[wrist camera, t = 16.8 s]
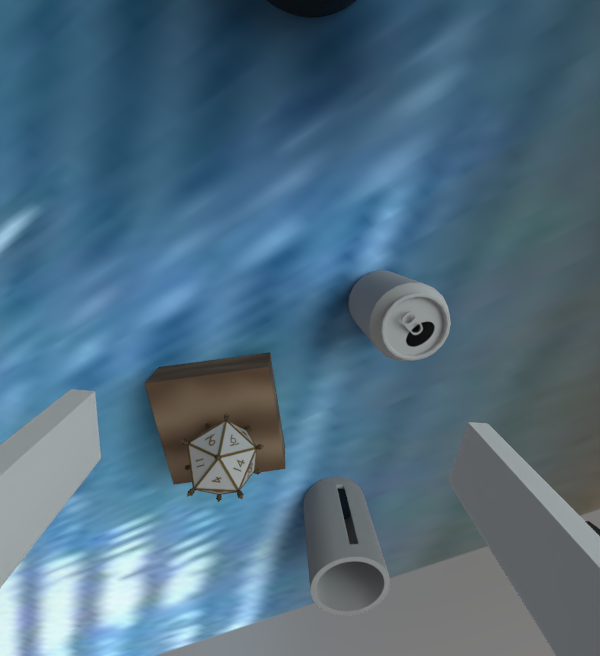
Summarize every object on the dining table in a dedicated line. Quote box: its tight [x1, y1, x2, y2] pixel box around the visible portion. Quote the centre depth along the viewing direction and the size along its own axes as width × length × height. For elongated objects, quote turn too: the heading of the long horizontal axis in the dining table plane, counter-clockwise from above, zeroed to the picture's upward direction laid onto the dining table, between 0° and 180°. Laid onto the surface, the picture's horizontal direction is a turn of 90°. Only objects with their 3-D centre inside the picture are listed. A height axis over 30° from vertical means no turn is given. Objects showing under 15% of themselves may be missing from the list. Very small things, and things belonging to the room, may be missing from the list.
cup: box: [303, 477, 390, 615], centre depth 42 cm, size 9×9×12 cm
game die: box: [180, 413, 264, 502], centre depth 34 cm, size 9×8×10 cm
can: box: [348, 270, 451, 361], centre depth 34 cm, size 8×8×12 cm
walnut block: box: [145, 353, 285, 484], centre depth 41 cm, size 14×14×5 cm
